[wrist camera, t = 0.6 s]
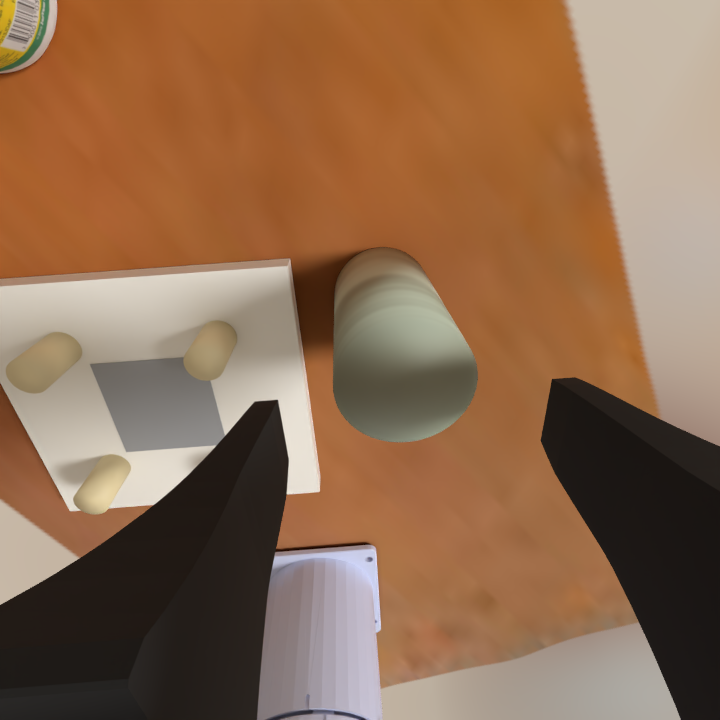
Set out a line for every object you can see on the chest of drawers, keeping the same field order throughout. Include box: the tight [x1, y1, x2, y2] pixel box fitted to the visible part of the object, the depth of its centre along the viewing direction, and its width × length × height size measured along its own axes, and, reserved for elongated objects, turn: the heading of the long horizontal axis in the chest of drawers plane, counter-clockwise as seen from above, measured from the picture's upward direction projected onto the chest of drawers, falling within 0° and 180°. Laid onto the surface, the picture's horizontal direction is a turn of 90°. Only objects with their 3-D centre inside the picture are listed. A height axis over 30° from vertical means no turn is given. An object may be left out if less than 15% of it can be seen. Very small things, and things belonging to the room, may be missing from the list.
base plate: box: [0, 258, 320, 514], centre depth 20 cm, size 13×14×4 cm
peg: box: [333, 247, 478, 442], centre depth 17 cm, size 4×4×8 cm
